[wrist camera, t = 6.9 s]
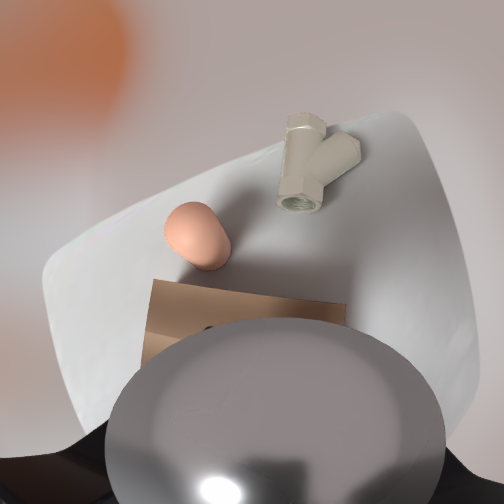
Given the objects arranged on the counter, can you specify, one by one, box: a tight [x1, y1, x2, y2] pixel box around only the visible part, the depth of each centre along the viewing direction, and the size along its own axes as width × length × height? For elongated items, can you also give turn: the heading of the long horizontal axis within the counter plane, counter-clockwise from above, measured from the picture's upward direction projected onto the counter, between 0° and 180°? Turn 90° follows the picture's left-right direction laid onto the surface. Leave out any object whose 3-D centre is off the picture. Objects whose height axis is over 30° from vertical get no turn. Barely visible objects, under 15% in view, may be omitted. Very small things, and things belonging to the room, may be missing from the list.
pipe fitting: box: [276, 113, 361, 213], centre depth 23 cm, size 8×4×7 cm
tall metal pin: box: [105, 317, 446, 504], centre depth 8 cm, size 4×4×13 cm
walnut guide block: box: [140, 279, 346, 369], centre depth 19 cm, size 13×13×4 cm
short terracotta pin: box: [164, 202, 231, 271], centre depth 21 cm, size 4×4×6 cm
